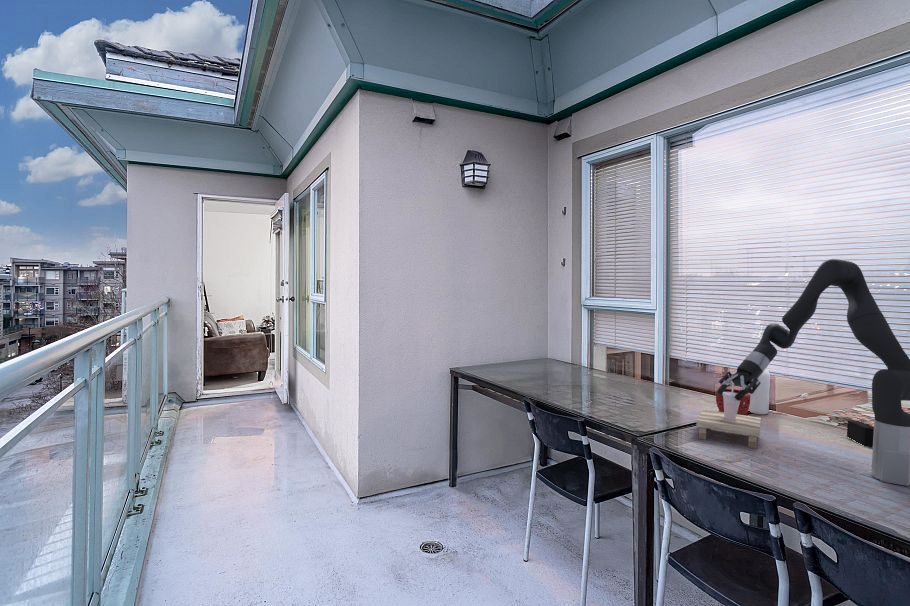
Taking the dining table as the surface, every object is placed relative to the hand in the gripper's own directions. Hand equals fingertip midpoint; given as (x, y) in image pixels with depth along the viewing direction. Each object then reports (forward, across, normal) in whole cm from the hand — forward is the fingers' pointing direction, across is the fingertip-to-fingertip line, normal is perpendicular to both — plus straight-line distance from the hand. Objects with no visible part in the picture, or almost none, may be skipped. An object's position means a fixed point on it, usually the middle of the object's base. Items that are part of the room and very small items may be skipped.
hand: (727, 396), depth 183 cm
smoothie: (+5, 0, +7) cm, 9 cm away
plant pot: (-7, -23, +29) cm, 38 cm away
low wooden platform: (+10, 0, +12) cm, 16 cm away
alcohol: (-21, -30, +44) cm, 57 cm away
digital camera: (-23, +15, +46) cm, 53 cm away
